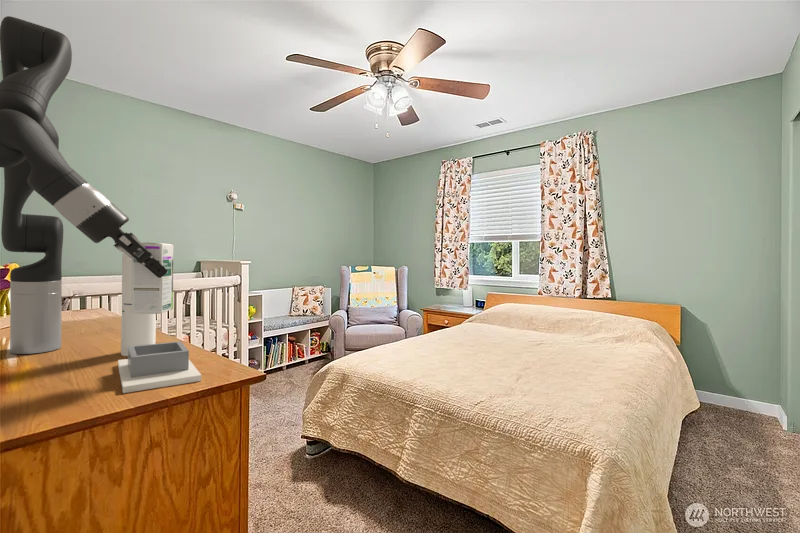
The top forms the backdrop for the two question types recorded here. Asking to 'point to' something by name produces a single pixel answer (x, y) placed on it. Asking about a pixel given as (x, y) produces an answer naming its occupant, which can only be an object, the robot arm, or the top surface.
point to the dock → (156, 367)
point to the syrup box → (153, 282)
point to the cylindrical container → (133, 315)
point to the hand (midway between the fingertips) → (161, 273)
